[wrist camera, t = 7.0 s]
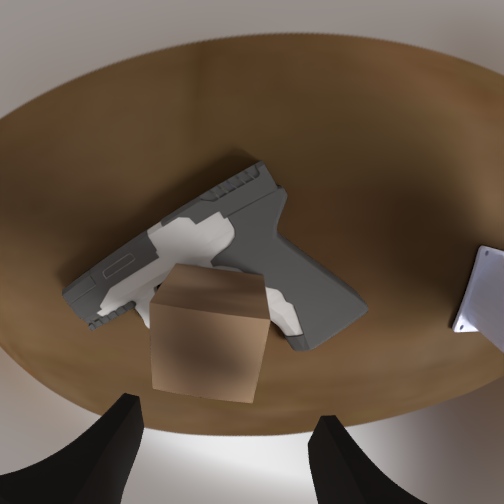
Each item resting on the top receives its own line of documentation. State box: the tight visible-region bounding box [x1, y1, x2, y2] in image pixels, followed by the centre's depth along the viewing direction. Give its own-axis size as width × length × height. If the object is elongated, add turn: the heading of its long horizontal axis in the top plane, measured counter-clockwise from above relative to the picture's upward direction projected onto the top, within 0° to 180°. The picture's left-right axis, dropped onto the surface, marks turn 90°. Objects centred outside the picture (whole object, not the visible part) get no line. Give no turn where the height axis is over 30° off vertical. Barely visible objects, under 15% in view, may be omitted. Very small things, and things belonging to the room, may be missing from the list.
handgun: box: [62, 160, 368, 351], centre depth 18 cm, size 2×18×12 cm
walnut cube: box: [149, 263, 271, 403], centre depth 14 cm, size 5×5×5 cm
